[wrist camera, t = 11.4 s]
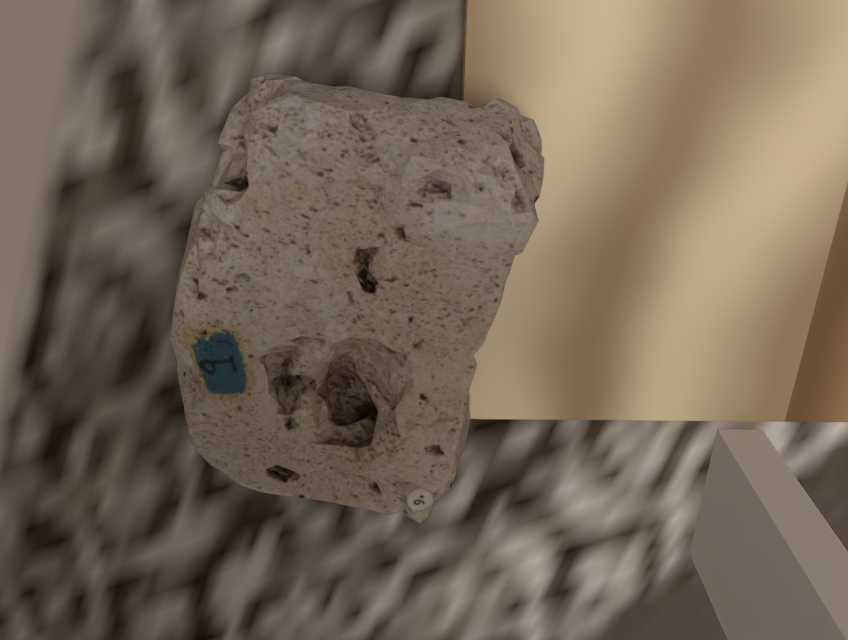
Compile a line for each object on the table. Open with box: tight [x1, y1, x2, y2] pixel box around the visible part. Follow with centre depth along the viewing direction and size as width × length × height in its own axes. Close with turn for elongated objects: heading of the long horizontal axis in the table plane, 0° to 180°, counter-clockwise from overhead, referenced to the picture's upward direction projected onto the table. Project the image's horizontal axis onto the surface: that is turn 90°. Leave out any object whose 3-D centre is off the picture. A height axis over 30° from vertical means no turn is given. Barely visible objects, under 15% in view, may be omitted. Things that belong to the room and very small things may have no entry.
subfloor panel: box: [462, 0, 848, 422], centre depth 21 cm, size 17×20×1 cm
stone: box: [170, 73, 544, 523], centre depth 21 cm, size 13×6×10 cm
